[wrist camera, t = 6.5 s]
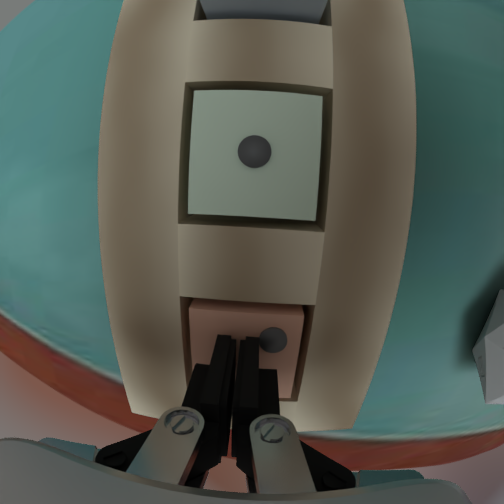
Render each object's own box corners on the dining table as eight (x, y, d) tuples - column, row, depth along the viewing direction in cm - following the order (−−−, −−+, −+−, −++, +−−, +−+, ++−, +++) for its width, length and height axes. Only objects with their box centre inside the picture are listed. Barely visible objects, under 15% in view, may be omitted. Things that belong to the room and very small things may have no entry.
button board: (366, -23, 10) (386, -57, 6) (338, 383, 16) (351, 428, 13) (169, -32, 10) (149, -67, 6) (153, 371, 17) (132, 412, 13)
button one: (309, 113, 11) (323, 94, 8) (303, 210, 13) (316, 221, 9) (209, 108, 11) (192, 88, 8) (204, 204, 13) (186, 214, 10)
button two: (296, 286, 13) (304, 318, 10) (286, 360, 15) (290, 400, 12) (203, 280, 14) (187, 310, 10) (205, 355, 15) (193, 394, 12)
